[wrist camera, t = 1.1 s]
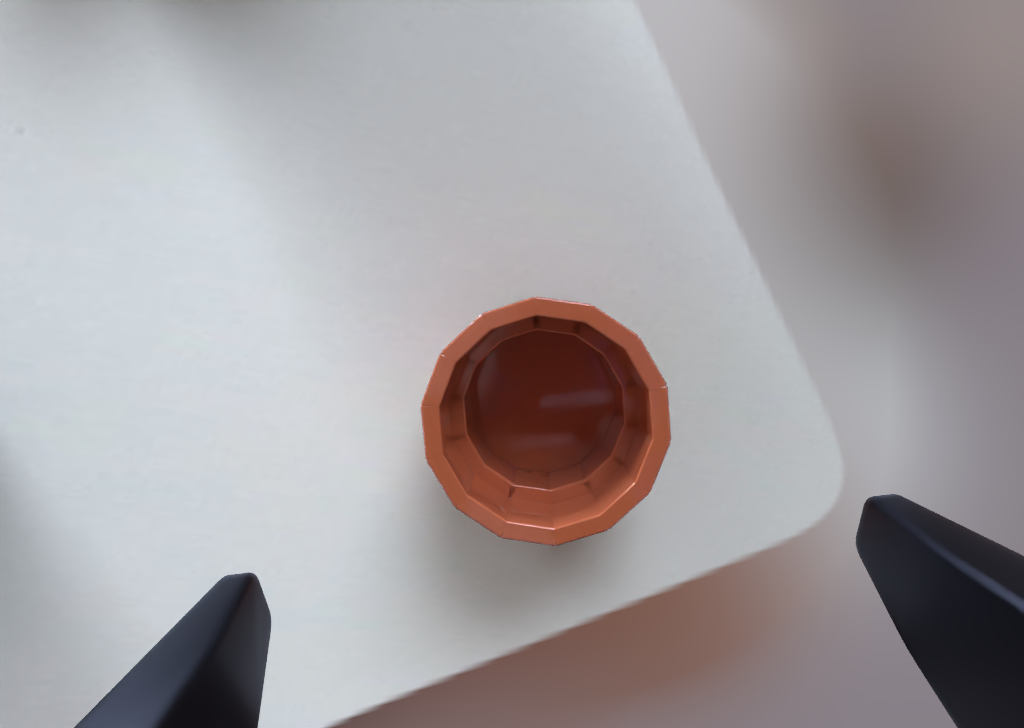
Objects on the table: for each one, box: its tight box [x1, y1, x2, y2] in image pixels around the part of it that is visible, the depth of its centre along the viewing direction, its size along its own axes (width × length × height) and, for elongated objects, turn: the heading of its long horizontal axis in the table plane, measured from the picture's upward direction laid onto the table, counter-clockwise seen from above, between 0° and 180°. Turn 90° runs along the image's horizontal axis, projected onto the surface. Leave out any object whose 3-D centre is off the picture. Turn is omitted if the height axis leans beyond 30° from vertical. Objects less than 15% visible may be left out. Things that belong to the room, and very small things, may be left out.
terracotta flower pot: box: [421, 297, 671, 546], centre depth 19 cm, size 7×7×5 cm
